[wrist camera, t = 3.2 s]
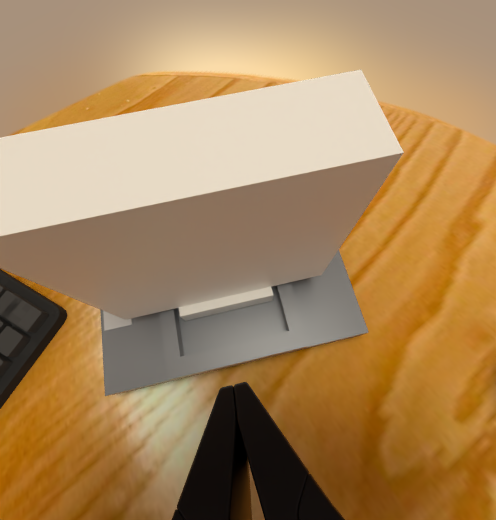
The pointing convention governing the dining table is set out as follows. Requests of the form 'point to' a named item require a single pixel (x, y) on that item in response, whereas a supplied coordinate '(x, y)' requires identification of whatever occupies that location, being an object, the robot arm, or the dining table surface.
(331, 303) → the grey flat square slab
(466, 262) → the dining table surface
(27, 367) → the keyboard
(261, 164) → the switch lever
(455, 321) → the dining table surface
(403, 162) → the dining table surface
